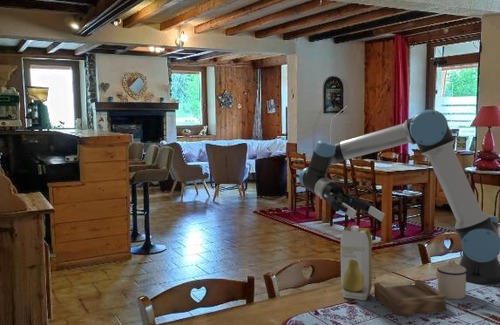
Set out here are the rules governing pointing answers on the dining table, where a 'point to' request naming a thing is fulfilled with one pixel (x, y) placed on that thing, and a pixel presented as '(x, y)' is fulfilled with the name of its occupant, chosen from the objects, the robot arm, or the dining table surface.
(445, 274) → the teacup with lid
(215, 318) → the dining table surface
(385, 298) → the wooden tray
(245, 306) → the dining table surface
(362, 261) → the juice carton
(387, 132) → the robot arm
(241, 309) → the dining table surface
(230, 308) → the dining table surface
